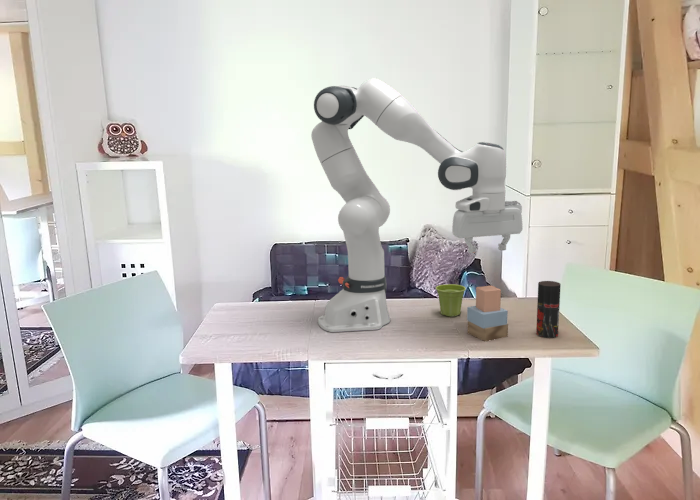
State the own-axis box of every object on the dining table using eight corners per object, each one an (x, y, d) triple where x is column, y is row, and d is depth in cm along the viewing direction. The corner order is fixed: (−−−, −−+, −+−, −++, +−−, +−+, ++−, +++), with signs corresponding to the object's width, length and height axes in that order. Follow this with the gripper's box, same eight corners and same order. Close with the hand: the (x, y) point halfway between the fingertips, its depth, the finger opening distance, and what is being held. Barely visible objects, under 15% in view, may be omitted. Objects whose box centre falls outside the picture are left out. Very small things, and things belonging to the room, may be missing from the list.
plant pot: (433, 309, 192) (433, 284, 190) (461, 308, 193) (462, 283, 191) (438, 319, 183) (438, 292, 181) (468, 318, 183) (468, 291, 182)
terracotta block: (484, 312, 164) (484, 291, 162) (475, 307, 168) (476, 287, 167) (500, 310, 165) (500, 289, 164) (491, 305, 170) (492, 285, 169)
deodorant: (559, 338, 164) (562, 286, 161) (537, 337, 165) (539, 286, 162) (556, 331, 169) (559, 281, 166) (535, 330, 171) (537, 280, 168)
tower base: (485, 342, 163) (485, 328, 162) (467, 334, 170) (467, 320, 169) (507, 337, 166) (508, 324, 166) (489, 329, 173) (489, 316, 173)
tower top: (483, 328, 162) (483, 314, 162) (467, 320, 170) (467, 307, 169) (507, 324, 165) (507, 310, 165) (490, 316, 173) (490, 303, 172)
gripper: (515, 199, 167) (513, 246, 170) (450, 203, 162) (449, 252, 164) (528, 201, 161) (526, 250, 164) (460, 205, 156) (459, 256, 159)
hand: (487, 251), depth 164 cm, fingers open, 8 cm apart
